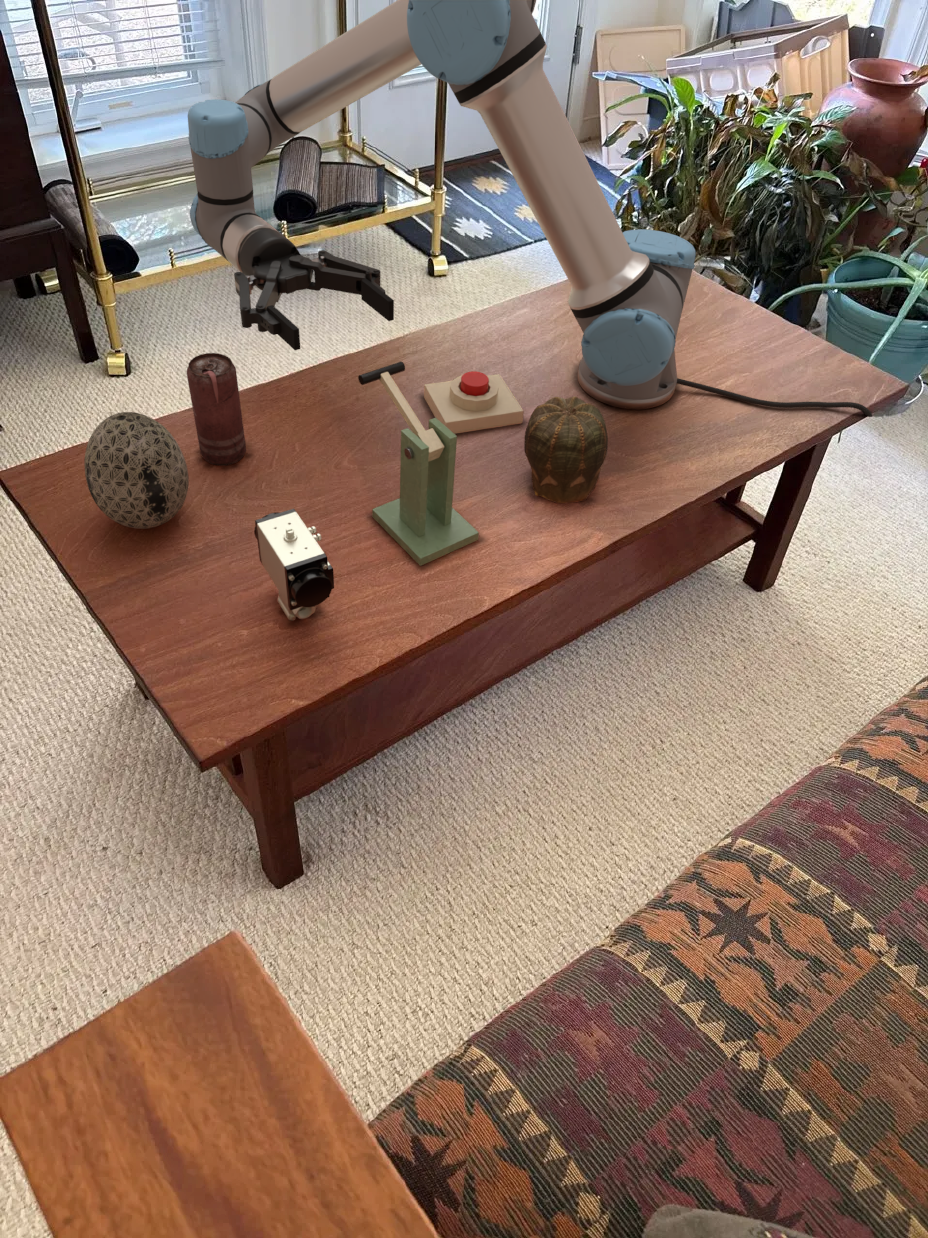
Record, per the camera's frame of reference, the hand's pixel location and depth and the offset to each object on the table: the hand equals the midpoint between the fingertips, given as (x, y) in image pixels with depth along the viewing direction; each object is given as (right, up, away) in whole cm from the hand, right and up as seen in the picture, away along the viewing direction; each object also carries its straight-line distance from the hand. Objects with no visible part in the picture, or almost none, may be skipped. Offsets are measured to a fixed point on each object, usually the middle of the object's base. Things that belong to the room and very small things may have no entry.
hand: (345, 324), depth 117 cm
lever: (+7, -12, -3) cm, 14 cm away
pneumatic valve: (-5, -35, -6) cm, 36 cm away
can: (-18, -14, +13) cm, 26 cm away
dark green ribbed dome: (+28, -18, +13) cm, 35 cm away
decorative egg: (-25, -24, +3) cm, 35 cm away
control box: (+16, -5, +23) cm, 29 cm away
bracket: (+10, -25, +5) cm, 27 cm away
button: (+16, -3, +21) cm, 26 cm away
